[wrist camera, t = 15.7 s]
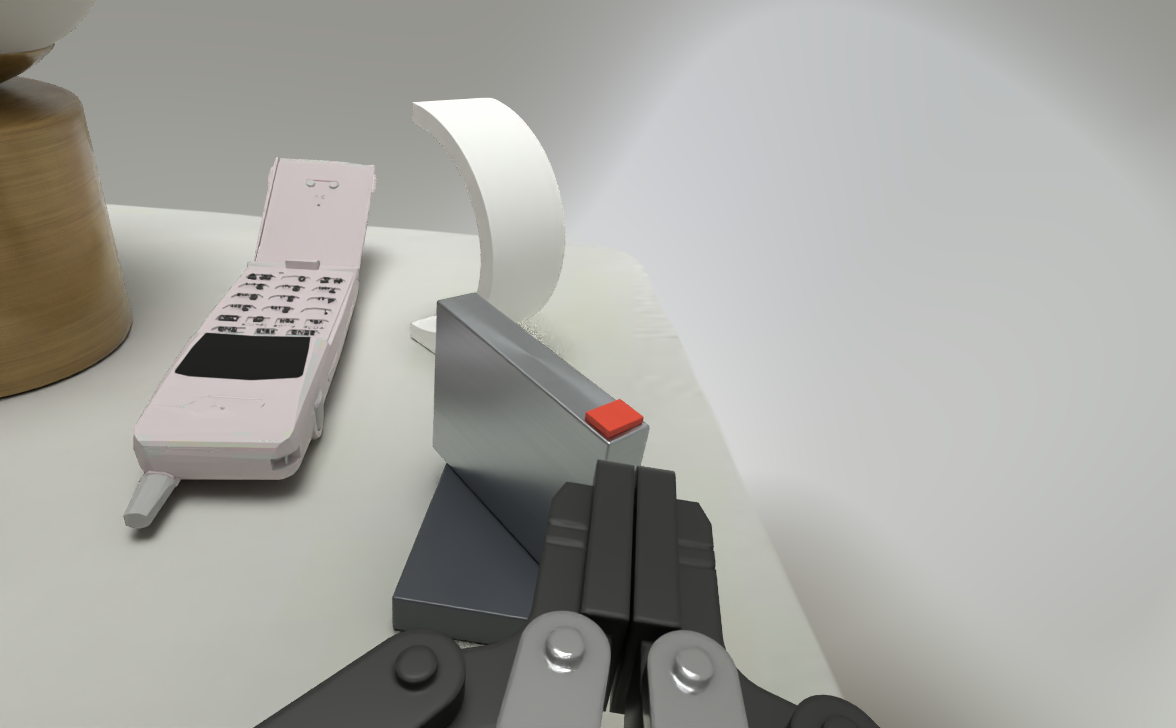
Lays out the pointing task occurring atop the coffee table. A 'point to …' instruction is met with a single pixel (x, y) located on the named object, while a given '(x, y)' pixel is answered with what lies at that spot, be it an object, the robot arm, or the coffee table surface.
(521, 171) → the headphone stand
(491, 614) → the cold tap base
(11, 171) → the lamp
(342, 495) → the coffee table surface
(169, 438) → the mobile phone
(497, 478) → the grey flat block
